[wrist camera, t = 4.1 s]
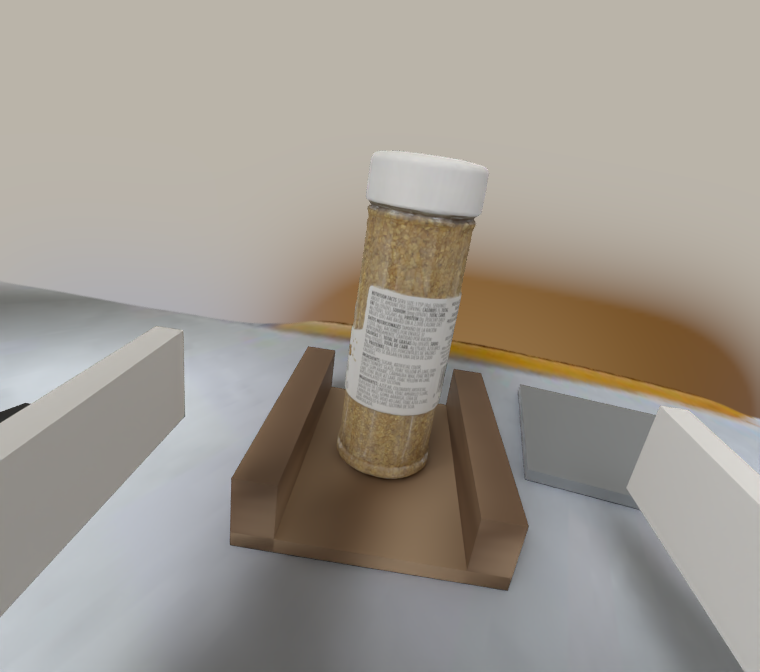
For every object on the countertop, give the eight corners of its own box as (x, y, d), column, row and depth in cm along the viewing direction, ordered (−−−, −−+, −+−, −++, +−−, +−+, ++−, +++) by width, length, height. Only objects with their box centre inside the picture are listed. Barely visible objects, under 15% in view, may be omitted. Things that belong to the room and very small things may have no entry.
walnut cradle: (229, 544, 17) (231, 478, 16) (304, 391, 28) (308, 346, 27) (507, 590, 16) (528, 526, 15) (470, 417, 28) (481, 373, 27)
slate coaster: (524, 479, 23) (527, 469, 23) (518, 392, 32) (520, 384, 32) (746, 537, 21) (752, 527, 21) (672, 427, 30) (675, 419, 30)
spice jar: (356, 419, 25) (393, 153, 20) (438, 444, 23) (497, 167, 19) (317, 463, 21) (353, 142, 16) (414, 498, 19) (482, 159, 15)
